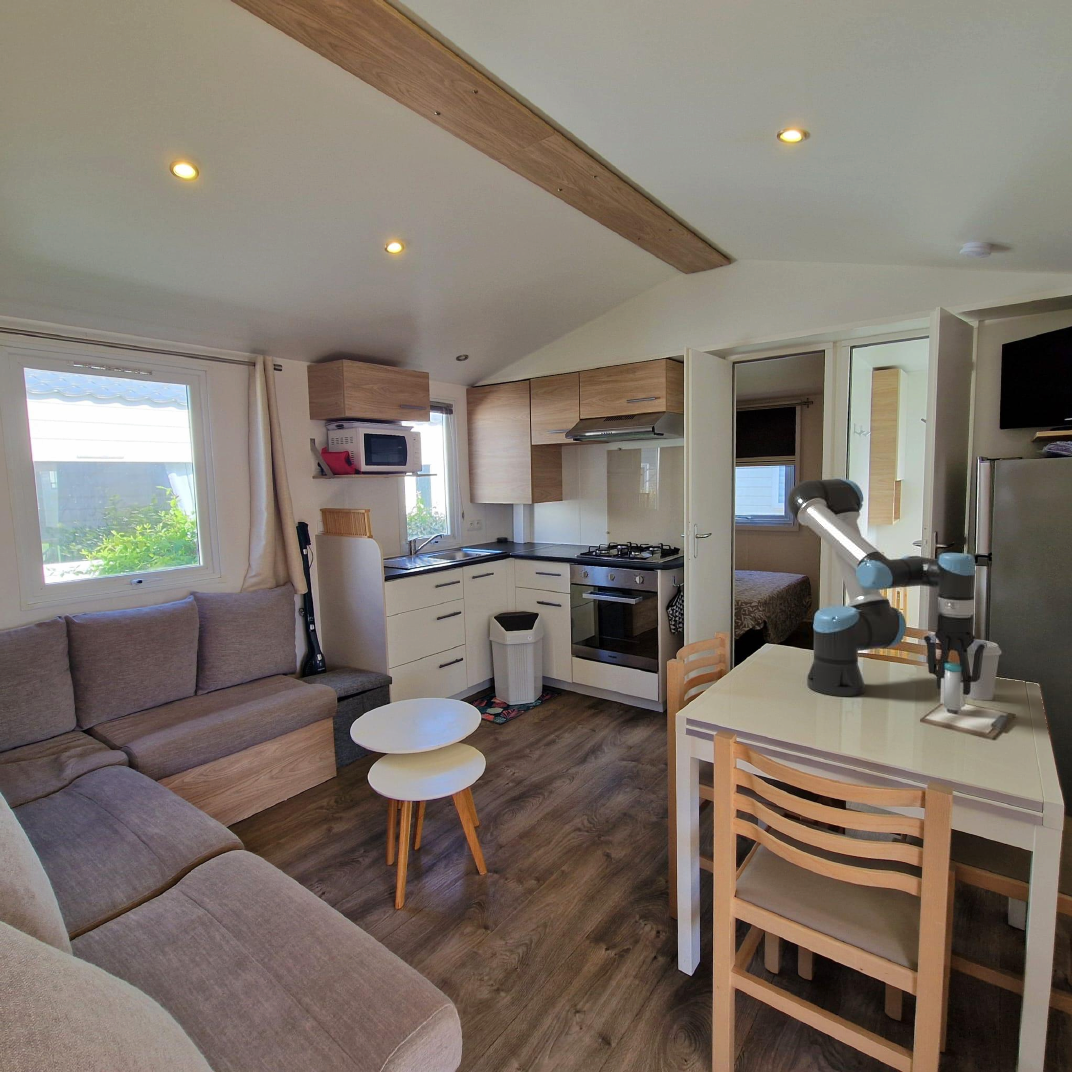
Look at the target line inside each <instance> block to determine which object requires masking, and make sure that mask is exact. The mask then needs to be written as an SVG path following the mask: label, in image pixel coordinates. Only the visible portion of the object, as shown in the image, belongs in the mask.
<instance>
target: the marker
mask: <svg viewBox="0 0 1072 1072" xmlns="http://www.w3.org/2000/svg"><path fill="white" fill-rule="evenodd" d="M961 670H962V666H960V662H956V661H955V662H954V661H948V662H946V663H945V675H944V676H945V689H944V707H945V708H947V712H948V713H951V714H958V710H961V708H960V707H959V706H960V682H962V680H963V678H962V672H961Z"/></svg>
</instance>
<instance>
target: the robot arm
mask: <svg viewBox="0 0 1072 1072" xmlns="http://www.w3.org/2000/svg"><path fill="white" fill-rule="evenodd" d="M863 502H864V494H863V492H862V489H861V488H860V486H859V485H858V484H857V483H856V482H855V481H852V480H851V479H848V478H847V479H846V478H833V479H829V478H828V479H807V480H803V481H801V482H799V483H797V484H795V486H793V488H792V489H791V490H790V492H789V495H788V497H787V507H788V510H789V512H790V513H791V515H792V517H793V518H794V519H795V520H796V521H797V522H798V523H799V524H801V525H802V526H808V527H809V528H810V529H811V530H812V531H813V532H815V534H817V535H818V537H820V539H822V540H823V541H824V542H825V543H826V544H828V546H829V547H831V548H832V549H833V551H834V555H835V557H836V561H837V564H838V568H839V570H840V573H841V577H842V580H843V583H844V586H845V589H846V594H847V595H848V596H847V597H848V599H849V600H848V601H849V603H848V604H847V605H838V606H836V605H834V606H832V605H831V606H826V607H824V608H820V609H819V610H817V611H816V612H815V614H814V617H813V618H814V619H813V624H812V625H813V626H812V627H813V661H812V663H811V665H810V669H809V671H808V673H807V677H806V685H807V687H808V688H809V689H810V690H812V691H814V692H817V693H821V694H824V695H827V696H828V695H829V696H836V697H837V696H838V697H852V696H853V697H856V696H860V695H862V694H864V692H865V680H864V677H863V675H862V672H861V670H860V667H859V652H861V651H867V650H868V651H870V650H877V649H880V650H881V649H882V650H883V649H888V648H891V647H894V646H897V645H899V644H900V643H901V642H902V641H903V640H904V637H905V635H906V632H907V622H906V618H905V616H904V614H903V612H901V611H900V610H899V609H898V608H896V607H893V606H891V603H890V600H889V598H887V597H886V596H884V595H882V594H881V590H887V589H889V590H890V589H896V588H897V589H898V588H909V587H910V588H911V587H920V586H921V587H929V588H934V589H938V590H937V591H938V592H937V593H938V594H937V612H939V613H938V614H937V626H936V627H937V629H936V631H935V633H933V634H927V635H925V636H924V637H923V639H924V643H925V644H926V650H927V651H926V652H927V653H926V654H927V668H928V673H929V674H931V675H932V674H933V675H934V676H935V677H936V689H937V690H940V704H941V703H942V704H944V689H945V663H946V662H949V658H950V653H951V651H954V652H957V656H958V660H959V663H960V666H962V670H961V672H962V682H960V706H959V707H960V708H963V707H964V706H965V704H966V695H969V694H970V692H971V682H976V681H978V680H979V679H980V675H981V667H982V659H983V652H984V650H985V649H986V647H987V644H986V643H981V642H979V641H977V640H978V639H976V637H975V635H974V617H973V615H974V614H975V594H974V593H975V581H976V572H977V571H976V560H975V557H974V556H973V555H972V554H969V553H963V552H962V553H958V552H945V553H941V554H940V555H939V557H938V559H937V558H930V557H926V556H925V557H924V556H919V555H905V556H903V557H901V558H896V559H891V558H888V557H887V556H885V555H884V554H883V553H882V552H881V551H879V549H877V548H876V547H875V546H873V544H871V543H870V542H868V541H867V540H866V539H865V538H864V537H862V536H863V535H862V534H861V530H860V527H859V524H858V520H859V518H860V516H861V513H860V511H861V510H862V508H863V506H864V505H863ZM937 641H938V642H939V643H940V645H941V651H940V652H941V653H940V656H939V661H938V663H937V649H936V648H937V647H936V642H937ZM971 644H974V649H975V650H976V651H975V654H974V662H973V670H972V676H971V673H970V667H969V661H968V655H967V654H968V651H967V648H968V647H969V646H970V645H971ZM937 664H938V666H937Z"/></svg>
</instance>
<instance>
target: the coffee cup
mask: <svg viewBox="0 0 1072 1072" xmlns="http://www.w3.org/2000/svg"><path fill="white" fill-rule="evenodd" d="M976 640H977V641H979V642H981V643H986V644H987V647H986V649H985V650H984V652H983V659H982V667H981V675H980V679H979V680H978V681H976V682H971V692H970V694H969V695H966V697H967V698H969V699H972V700H978V701H991V700H992V701H993V698H994V692H995V687H996V686H995V685H996V679H997V672H998V664H999V658H1000V655H1001V654H1002V650H1001V648H1000V647H999V645H998V644H997V642H993V641H989V640H983V639H976ZM967 651H968V654H967V655H968V661H969V667H970V673H971V676H972V670H973V662H974V654H975V651H976V650H975V649H974V644H971V645H970V646H969V647H968V648H967Z"/></svg>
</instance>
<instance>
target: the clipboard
mask: <svg viewBox="0 0 1072 1072" xmlns="http://www.w3.org/2000/svg"><path fill="white" fill-rule="evenodd" d="M1016 717H1017V716H1016V713H1012V712H1007V711H1004V710H1003V711H1002V710H998V709H994V708H989V707H984V706H980V705H975V704H971V703H966V704H965V706H964V707H963V708H961V710H958V714H951V713H948V712H947V708H945V707H944V704H942V703H941V702H940V704H938V705H937V706H936V707H934V708H933V709H931V710H930V711H929V712H928V713H926V714H925V715H924V716H922V717H921V718H920V719H919V722H921V723H924V724H928V725H931V726H937V727H940V728H945V729H949V730H952V731H956V732H960V733H964V734H967V735H972V736H975V737H979V738H983V739H988V740H991V741H992V740H994V739H995V738H996V737H997V736H998V734H1000V733H1001V732H1002V730H1004V729H1005V727H1006V726H1008V725H1009V723H1011V721H1012V720H1014V719H1015V718H1016Z"/></svg>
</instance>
